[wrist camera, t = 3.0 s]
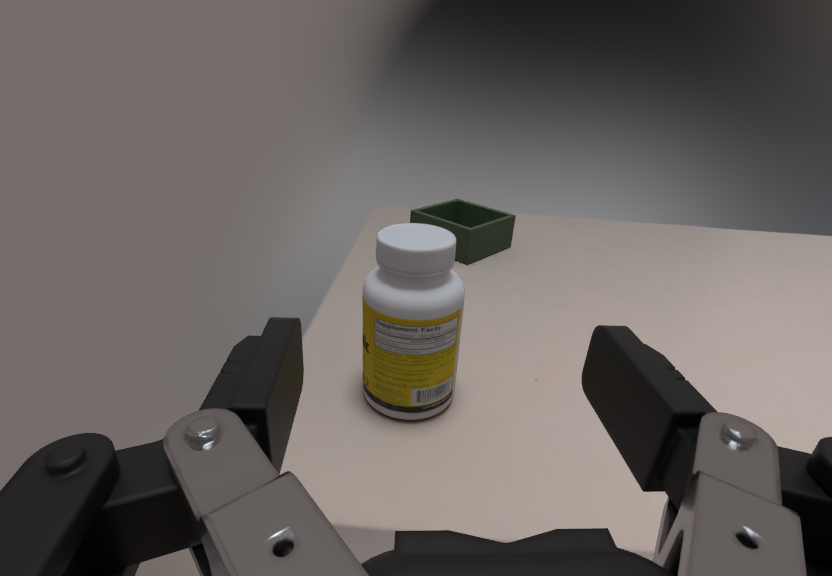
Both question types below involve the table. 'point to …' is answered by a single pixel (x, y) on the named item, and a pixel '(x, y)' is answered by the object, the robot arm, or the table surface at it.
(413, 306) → the supplement bottle
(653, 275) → the table surface
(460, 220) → the basket
